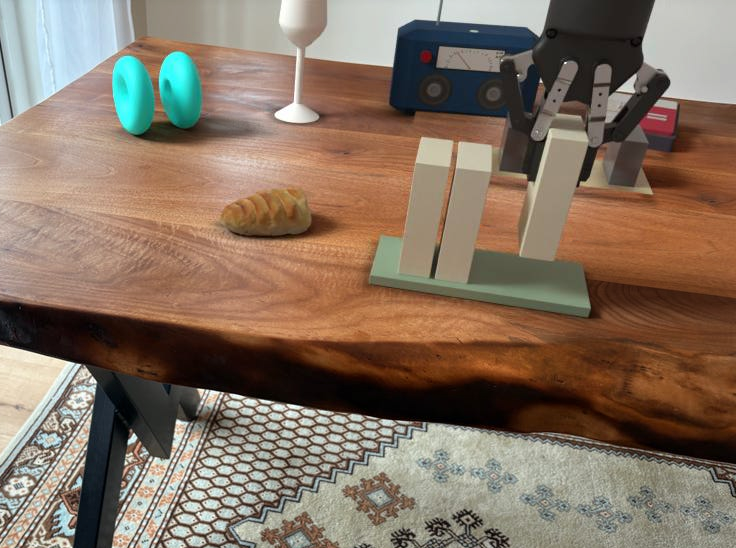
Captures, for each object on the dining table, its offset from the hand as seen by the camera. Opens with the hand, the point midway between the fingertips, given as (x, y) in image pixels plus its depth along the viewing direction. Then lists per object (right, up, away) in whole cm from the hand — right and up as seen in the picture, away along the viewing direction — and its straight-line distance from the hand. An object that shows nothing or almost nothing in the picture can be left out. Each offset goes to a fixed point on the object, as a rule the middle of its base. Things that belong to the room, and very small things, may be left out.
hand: (552, 180), depth 68 cm
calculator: (+28, +16, +44) cm, 55 cm away
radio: (+5, +22, +50) cm, 55 cm away
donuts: (-40, +16, +39) cm, 58 cm away
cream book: (0, -5, +4) cm, 6 cm away
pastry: (-25, -2, +15) cm, 29 cm away
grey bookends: (+13, +7, +30) cm, 33 cm away
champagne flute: (-20, +20, +46) cm, 54 cm away
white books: (-5, -8, +7) cm, 12 cm away
